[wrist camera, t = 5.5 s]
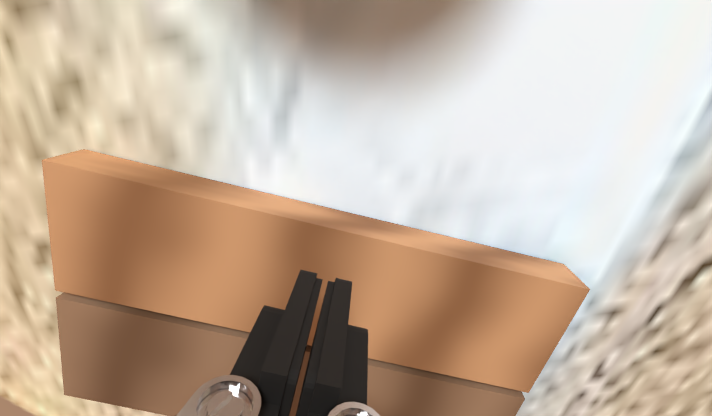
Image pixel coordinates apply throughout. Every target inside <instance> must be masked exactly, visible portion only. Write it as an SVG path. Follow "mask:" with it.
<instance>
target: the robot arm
mask: <svg viewBox="0 0 712 416" xmlns="http://www.w3.org/2000/svg"><path fill="white" fill-rule="evenodd" d="M322 281H323V279H319V278H317V273H314V272H310V271H305V270H300V272H299V275H298V277H297V280H296V282H295V285H294V288H293V290H292V293H291V295H290V298H289V300H288V303H287V306H286V308H285V310H283V309H279V308H275V307H270V306H266V305H264V306H263V308H262V310H261V312H260V314H259V316H258V318H257V320H256V322H255V324H254V326H253V328H252V330H251V332H250V334H249V336H248V338H247V340H246V342H245V344H244V346H243V348H242V350H241V353H240V355H239V357H238V359H237V361H236V363H235V365H234V367H233V369H232V371H231V373H230V375H223V376H220V377H216V378H213V379H211V380H209V381H208V382H206V383H204V384H203V385H202V386H201V387H200V388H198V389H197V390H196V391H195V393H194V394H193V395H192V396H191V398H190V399H189V400H188V402H187V403H186V404H185V405H184V407H183V408H182V409H181V411H180V412H179V413H178V414H177V415H175V416H289V414H290V410H291V406H292V402H293V398H294V394H295V390H296V386H297V382H298V378H299V374H300V370H301V366H302V362H303V358H304V355H305V350H306V346H307V342H308V338H309V334H310V330H311V326H312V322H313V318H314V314H315V309H316V305H317V301H318V297H319V293H320V289H321V285H322ZM351 291H352V281H348V280H343V279H339V278H336V279H335V282H332V281H328V283H327V287H326V291H325V295H324V299H323V303H322V307H321V311H320V315H319V319H318V323H317V327H316V331H315V335H314V339H313V343H312V347H311V351H310V355H309V360H308V364H307V368H306V373H305V377H304V381H303V385H302V390H301V394H300V398H299V403H298V407H297V411H296V416H380V415H379V414H378V413H377V412H376V411H375V410H374V409H372V408H371V407H369V406H367V379H368V329H365V328H361V327H357V326H352V325H348V321H349V311H350V301H351Z"/></svg>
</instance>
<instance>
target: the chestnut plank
mask: <svg viewBox="0 0 712 416" xmlns="http://www.w3.org/2000/svg"><path fill="white" fill-rule="evenodd" d="M42 166H43V176H44V185H45V195H46V205H47V215H48V224H49V234H50V244H51V254H52V263H53V273H54V283H55V290H56V291H60V292H65V293H70V294H74V295H79V296H84V297H88V298H93V299H97V300H102V301H107V302H111V303H116V304H121V305H125V306H130V307H134V308H139V309H144V310H148V311H153V312H157V313H162V314H167V315H171V316H176V317H181V318H185V319H190V320H194V321H199V322H204V323H208V324H213V325H218V326H222V327H227V328H231V329H236V330H241V331H245V332H251V330H252V328H253V326H254V324H255V322H256V320H257V318H258V316H259V314H260V312H261V310H262V308H263V306H264V305H266V306H270V307H275V308H279V309H283V310H285V308H286V306H287V303H288V300H289V298H290V295H291V293H292V290H293V288H294V285H295V282H296V280H297V277H298V275H299V272H300V270H305V271H310V272H314V273H317V278H319V279H323V281H322V285H321V289H320V293H319V297H318V301H317V305H316V309H315V314H314V318H313V322H312V326H311V330H310V334H309V338H308V342H307V345H310V346H312V343H313V339H314V335H315V331H316V327H317V323H318V319H319V315H320V311H321V307H322V303H323V299H324V295H325V291H326V287H327V283H328V281H332V282H335V279H336V278H339V279H343V280H348V281H352V291H351V301H350V311H349V321H348V325H352V326H357V327H361V328H365V329H368V358H370V359H375V360H379V361H384V362H388V363H393V364H398V365H402V366H407V367H412V368H416V369H421V370H425V371H430V372H435V373H439V374H444V375H449V376H453V377H458V378H462V379H467V380H472V381H476V382H481V383H485V384H490V385H495V386H499V387H504V388H509V389H513V390H518V391H522V392H527V393H529V391H530V389H531V388H532V386H533V384H534V383H535V381H536V379H537V378H538V376H539V374H540V373H541V371H542V369H543V368H544V366H545V364H546V362H547V361H548V359H549V357H550V356H551V354H552V352H553V351H554V349H555V347H556V346H557V344H558V342H559V341H560V339H561V337H562V336H563V334H564V332H565V331H566V329H567V327H568V326H569V324H570V322H571V320H572V319H573V317H574V315H575V314H576V312H577V310H578V309H579V307H580V305H581V304H582V302H583V300H584V299H585V297H586V295H587V294H588V292H589V290H590V289H589V288H588V287H587V286H586V285H585V284H584V283H583V282H582V281H581V280H580V279H579V278H578V277H577V276H576V275H575V274H573V273H572V272H571V271H570V270H569V269H568V268H567V267H566V266H565V265H564V264H561V263H557V262H553V261H548V260H544V259H540V258H536V257H532V256H528V255H523V254H519V253H515V252H511V251H507V250H503V249H498V248H494V247H490V246H486V245H482V244H477V243H473V242H469V241H465V240H461V239H457V238H452V237H448V236H444V235H440V234H436V233H431V232H427V231H423V230H419V229H415V228H411V227H406V226H402V225H398V224H394V223H390V222H386V221H381V220H377V219H373V218H369V217H365V216H360V215H356V214H352V213H348V212H344V211H340V210H335V209H331V208H327V207H323V206H319V205H315V204H310V203H306V202H302V201H298V200H294V199H289V198H285V197H281V196H277V195H273V194H269V193H264V192H260V191H256V190H252V189H248V188H243V187H239V186H235V185H231V184H227V183H223V182H218V181H214V180H210V179H206V178H202V177H198V176H193V175H189V174H185V173H181V172H177V171H172V170H168V169H164V168H160V167H156V166H152V165H147V164H143V163H139V162H135V161H131V160H126V159H122V158H118V157H114V156H110V155H106V154H101V153H97V152H93V151H89V150H85V149H83V150H79V151H75V152H71V153H67V154H63V155H59V156H55V157H52V158H48V159H44V160H42Z"/></svg>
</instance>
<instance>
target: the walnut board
mask: <svg viewBox="0 0 712 416" xmlns="http://www.w3.org/2000/svg"><path fill="white" fill-rule="evenodd" d="M56 305H57V316H58V328H59V339H60V351H61V362H62V374H63V386H64V395H68V396H73V397H78V398H83V399H88V400H93V401H98V402H103V403H108V404H113V405H118V406H122V407H127V408H132V409H137V410H142V411H147V412H152V413H157V414H162V415H167V416H175V415H177V414H178V413H179V412H180V411H181V409H182V408H183V407H184V405H185V404H186V403H187V402H188V400H189V399H190V398H191V396H192V395H193V394H194V393H195V391H196V390H197V389H198V388H200V387H201V386H202V385H203V384H204V383H206V382H208V381H209V380H211V379H213V378H216V377H220V376H223V375H230V373H231V371H232V369H233V367H234V365H235V363H236V361H237V359H238V357H239V355H240V353H241V350H242V348H243V346H244V344H245V342H246V340H247V338H248V336H249V334H250V332H245V331H241V330H236V329H231V328H227V327H222V326H218V325H213V324H208V323H204V322H199V321H194V320H190V319H185V318H181V317H176V316H171V315H167V314H162V313H157V312H153V311H148V310H144V309H139V308H134V307H130V306H125V305H121V304H116V303H111V302H107V301H102V300H97V299H93V298H88V297H84V296H79V295H74V294H70V293H65V292H64V293H62V294H61V295H59V296H58V297H56ZM311 347H312V346H310V345H307V346H306V350H305V355H304V358H303V362H302V366H301V370H300V374H299V378H298V382H297V386H296V390H295V394H294V398H293V402H292V406H291V410H290V414H289V416H296V411H297V407H298V403H299V398H300V394H301V390H302V385H303V381H304V377H305V373H306V368H307V364H308V360H309V355H310V351H311ZM524 400H525V398H524V396H523V394H522V392H521V391H518V390H513V389H509V388H504V387H499V386H495V385H490V384H485V383H481V382H476V381H472V380H467V379H462V378H458V377H453V376H449V375H444V374H439V373H435V372H430V371H425V370H421V369H416V368H412V367H407V366H402V365H398V364H393V363H388V362H384V361H379V360H375V359H370V358H368V379H367V406H369V407H371V408H372V409H374V410H375V411H376V412H377V413H378V414H379V415H380V416H515V415H516V414H517V412H518V410H519V408H520V407H521V405H522V403H523V401H524Z"/></svg>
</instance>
